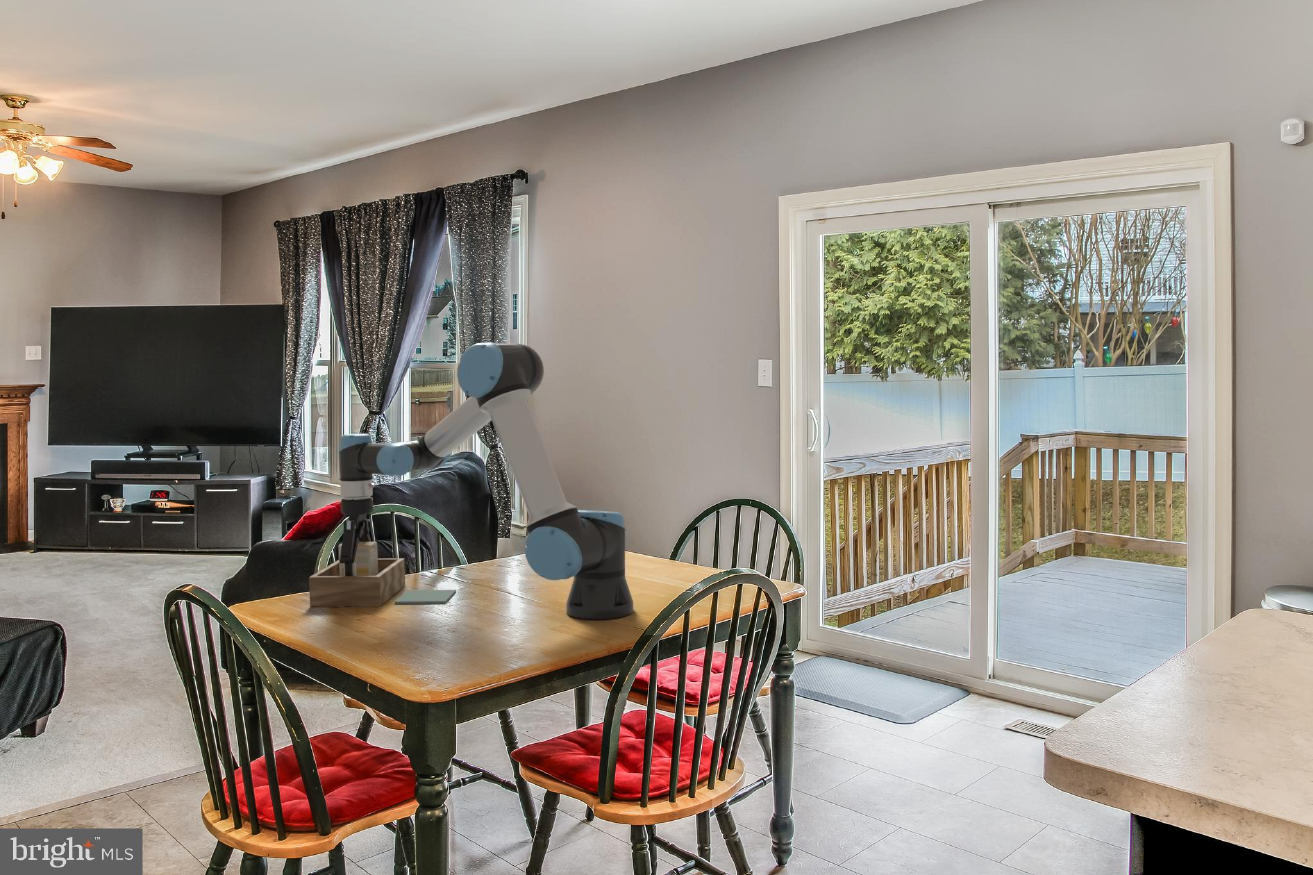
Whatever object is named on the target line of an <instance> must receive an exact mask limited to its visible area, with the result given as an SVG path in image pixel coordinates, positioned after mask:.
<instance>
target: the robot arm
mask: <svg viewBox="0 0 1313 875" xmlns="http://www.w3.org/2000/svg"><path fill="white" fill-rule="evenodd" d="M459 360H460V361H459V363H458V364H457V368H456V377H457V382H458V385H459V387H460V389H461V391H462V392H463V393H464V394H466V395H468V396H469V397H468V398H466V400H464V401H463V402H462V403H461V404H459V405H458V406H457V407H456V408H454V410H452V411H451V412H450V413H449V414H448V415H446V416H444V418H443V419H441V421H439V422H438V423H436V424H435V425H433V427H432V428H431V429H429V430H428V431H427V432H426V433H425V434H423V435H422V436H421V437H420V438H418V439H417V440H409V441H399V442H398V441H397V442H386V443H384V442H382V443H379V442H378V443H377V442H373V440H372V435H370V433H346V434H342V435H340V437H339V448H338V454H339V456H338V457H339V474H340V475H339V476H340V479H339V480H340V481H339V486H340V487H339V489H340V491H339V492H340V497H342V498H341V500H340V512H341V514H343V515H346V516H348V520H343V522H342V523H343V532H342V533H343V534H342V540H341V544H342V547H341V555H340V559H339V558H338V560H339V562H340V563H344V576H356V562H354V560H355V555H356V550H357V545H358V542H376V541H375V535H374V534H375V533H374V529H373V524H372V513H373V512H374V498H373V497H372V496H373V491H374V490H373V488H375V483H373V475H383V476H389V477H395V476H400V477H401V476H404V475H407V473H411V472H420V471H432V470H435V469H439V468H441V467H444V465H445V464H446V463H447V461H448V459H449V455H450V454H451V453H452V452H454V450H456V449H457V448H458V447H459V446H461V445H462V444H464V443H465V442H466V441H467V440H468V439H469V438H471V437H472V436H474V435H475V434H476V433H477V432H479V431H480V430H482V428H484V427H485V426H486V425H488V424H489V423H490V422H492V424H493V427H494V429H495V431H496V432H495V433H496V434H497V437H498V439H499V443H500V445H501V448H502V450H503V452H504V454H505V457H506V460H507V462H508V464H509V467H510V470H511V473H512V475H513V478H514V480H515V483H516V485H517V488H518V491H519V493H520V495H521V498H522V500H523V504H524V506H525V508H526V511H527V514H528V521H527V523H526V526H525V529H526V531H527V534H528V536H527V538H526V540H525V544H526V545H525V546H524V555H525V559H526V561H527V564H528V565H529V567H530V568H531V569H532V570H533V572H534V573H535V574H536V575H538V576H539V577H540V578H544V579H545V580H549V581H560V580H568V579H570V578H573V581H572V584H571V587H570V590H569V593H568V596H567V600H566V604H565V605H566V606H565V607H566V614H567V615H568V616H570V617H573V618H578V619H582V620H610V619H611V620H612V619H618V618H623V617H627V616H629V615H631V614H632V613H634V600H633V596H632V594H631V590H630V588H629V587H630V586H629V584H628V582H627V579H626V526H625V525H626V524H625V517H624V515H623V514H622V513H620V512H618V511H606V510H592V509H591V510H590V509H589V510H588V509H578V508H577V506H576V505H573V504H572V503H570V502H568V501H567V498H566V496H565V493H564V491H563V489H562V486H561V483H560V481H559V479H558V476H557V474H556V471H555V469H554V465H553V463H552V461H551V458H550V455H549V454H548V451H547V448H546V446H545V443H544V441H543V438H542V436H541V433H540V430H539V428H538V425H537V423H536V420H535V418H534V415H533V412H532V411H531V408H530V405H529V403H528V400H529V398H530V396H531V395H532V394H534V393H535V391H536V390H537V389H538V388H539V387H540V385H541V384H542V381H543V379H544V374H545V370H544V369H545V368H544V363H543V359H542V357H541V356H540V355H539V353H538V352H536V350H535V349H533V348H532V347H531V346H529V345H526V344H523V343H500V342H499V343H496V342H492V341H487V342H480V343H475V344H473V345H470V346H469V347H468V348H466V350H465V351H464V352H463V353H462V355H461V357H460V358H459Z"/></svg>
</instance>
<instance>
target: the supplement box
mask: <svg viewBox="0 0 1313 875" xmlns="http://www.w3.org/2000/svg"><path fill="white" fill-rule="evenodd" d="M341 547H342V543H339V545H338V560H339V559H340V555H341ZM378 556H379V555H378V542H377V541H375V542H360V541H358V545H357V550H356V555H355V560H354V562H356V576H376V575H377V574H378V559H379V558H378ZM339 570H340V576H344V563H340V562H339Z"/></svg>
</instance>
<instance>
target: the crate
mask: <svg viewBox="0 0 1313 875" xmlns="http://www.w3.org/2000/svg"><path fill="white" fill-rule="evenodd" d="M405 559H406V558H405V557H404V558H403V557H402V558H394V557H393V558H390V557H389V558H378V574H377V575H376V576H340V570H339V559H338V560H336V561H335V562H333V563H331V564H329V565H328V566H326V567H324V568H322V569H320V570H319V571H317V572H315V573H313V574H312V575H310V576H309V577H308V582H309V583H308V585H309V586H308V587H309V591H308V592H309V607H310V606H329V608H330V606H332V607H331V608H335V607H334V606H354V607H355V606H357V607H358V606H359V607H360V608H361V607H366V608H367V607H381V606H382V605H384V604H385V603H386V602H387V601H389V600H390V599H391V598H392V597H393V596H394V595H395V594H397V593H398V592H399V591H400V590H402V589H403V588H404V587H405V586H406V567H405V566H406V565H405V564H406V562H405ZM359 607H358V608H359Z"/></svg>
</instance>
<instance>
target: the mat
mask: <svg viewBox="0 0 1313 875" xmlns="http://www.w3.org/2000/svg"><path fill="white" fill-rule="evenodd" d="M456 593H457V589H407V590H406V591H404V592H403V593H402V595H400V596H399V597H398V598H397V599H396V600H395V601H394V605H421V604H422V605H426V604H427V605H431V604H432V605H435V604H436V605H437V604H439V605H442V604H444V605H446V604H447V603H448V601H450V599H451V598H452V597H453V596H454V595H455V594H456Z"/></svg>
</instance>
